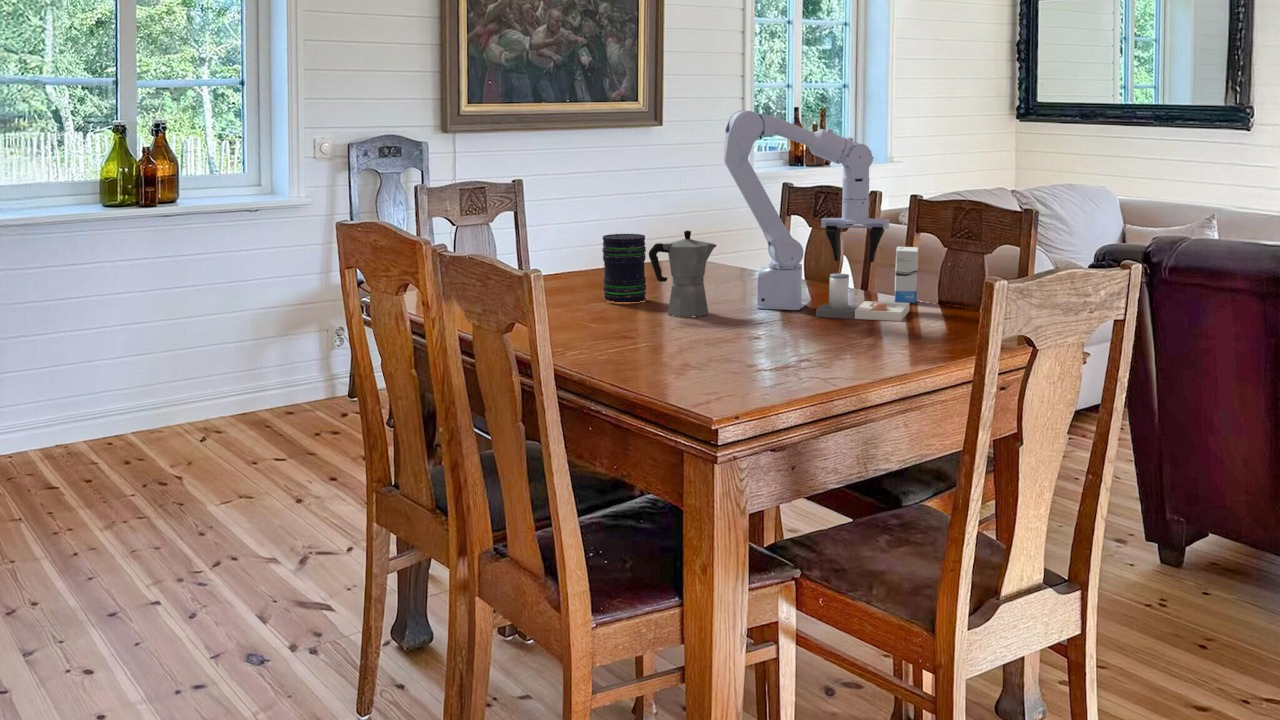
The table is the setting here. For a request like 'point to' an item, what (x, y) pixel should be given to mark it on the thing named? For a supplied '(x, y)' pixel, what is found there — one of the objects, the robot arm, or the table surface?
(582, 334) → the table surface
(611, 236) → the storage jar
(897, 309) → the white plate with holes
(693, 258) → the coffeepot
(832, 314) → the pad
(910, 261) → the ink box
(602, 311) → the table surface
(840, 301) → the cylinder
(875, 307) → the peach rounded piece
